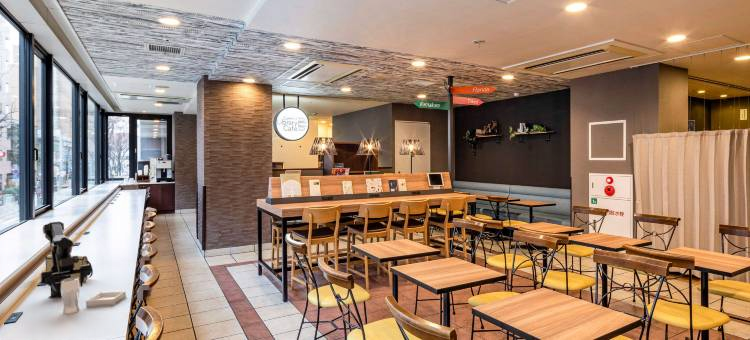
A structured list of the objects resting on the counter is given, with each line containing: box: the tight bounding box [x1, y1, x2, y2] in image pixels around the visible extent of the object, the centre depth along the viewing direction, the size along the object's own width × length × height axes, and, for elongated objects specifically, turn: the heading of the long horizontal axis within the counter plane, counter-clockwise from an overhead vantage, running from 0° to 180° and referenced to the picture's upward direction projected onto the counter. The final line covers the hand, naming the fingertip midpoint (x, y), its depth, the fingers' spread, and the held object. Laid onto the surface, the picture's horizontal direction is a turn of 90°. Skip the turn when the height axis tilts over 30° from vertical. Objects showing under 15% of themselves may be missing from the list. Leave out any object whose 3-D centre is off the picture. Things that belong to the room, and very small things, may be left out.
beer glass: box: [61, 277, 81, 315], centre depth 185 cm, size 7×7×15 cm
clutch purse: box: [44, 254, 94, 283], centre depth 237 cm, size 30×7×15 cm, turn 79°
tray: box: [85, 290, 127, 308], centre depth 198 cm, size 12×12×3 cm
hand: (69, 288), depth 187 cm, fingers open, 9 cm apart
